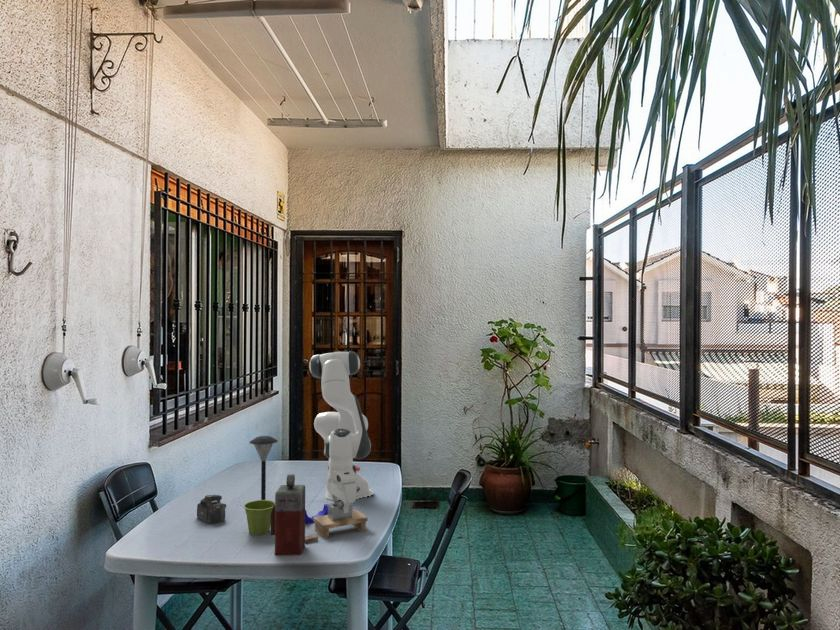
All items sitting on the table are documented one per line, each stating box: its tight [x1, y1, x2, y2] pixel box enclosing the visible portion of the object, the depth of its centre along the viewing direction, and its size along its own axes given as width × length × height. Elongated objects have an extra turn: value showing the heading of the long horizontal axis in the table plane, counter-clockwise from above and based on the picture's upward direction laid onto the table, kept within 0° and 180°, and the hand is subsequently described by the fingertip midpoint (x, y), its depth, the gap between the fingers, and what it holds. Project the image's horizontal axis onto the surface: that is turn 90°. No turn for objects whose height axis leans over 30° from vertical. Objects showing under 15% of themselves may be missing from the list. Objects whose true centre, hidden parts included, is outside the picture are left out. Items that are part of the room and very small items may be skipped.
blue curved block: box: [305, 503, 329, 524], centre depth 235 cm, size 12×4×6 cm, turn 124°
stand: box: [313, 509, 368, 539], centre depth 222 cm, size 18×10×6 cm, turn 121°
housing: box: [327, 501, 353, 521], centre depth 222 cm, size 5×8×6 cm, turn 120°
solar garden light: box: [248, 435, 279, 500], centre depth 252 cm, size 12×12×30 cm
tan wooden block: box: [305, 533, 319, 544], centre depth 210 cm, size 5×3×3 cm, turn 125°
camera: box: [196, 494, 227, 525], centre depth 235 cm, size 13×10×10 cm
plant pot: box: [243, 499, 275, 536], centre depth 220 cm, size 12×12×11 cm
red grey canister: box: [270, 473, 306, 556], centre depth 201 cm, size 9×11×28 cm
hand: (340, 509), depth 222 cm, fingers open, 8 cm apart
